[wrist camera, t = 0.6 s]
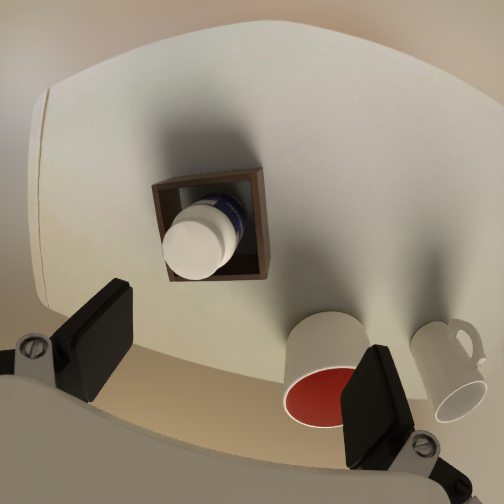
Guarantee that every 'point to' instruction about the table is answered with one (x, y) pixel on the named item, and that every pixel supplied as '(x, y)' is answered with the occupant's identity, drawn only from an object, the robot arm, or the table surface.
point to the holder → (256, 263)
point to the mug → (449, 368)
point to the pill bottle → (204, 235)
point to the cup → (321, 366)
